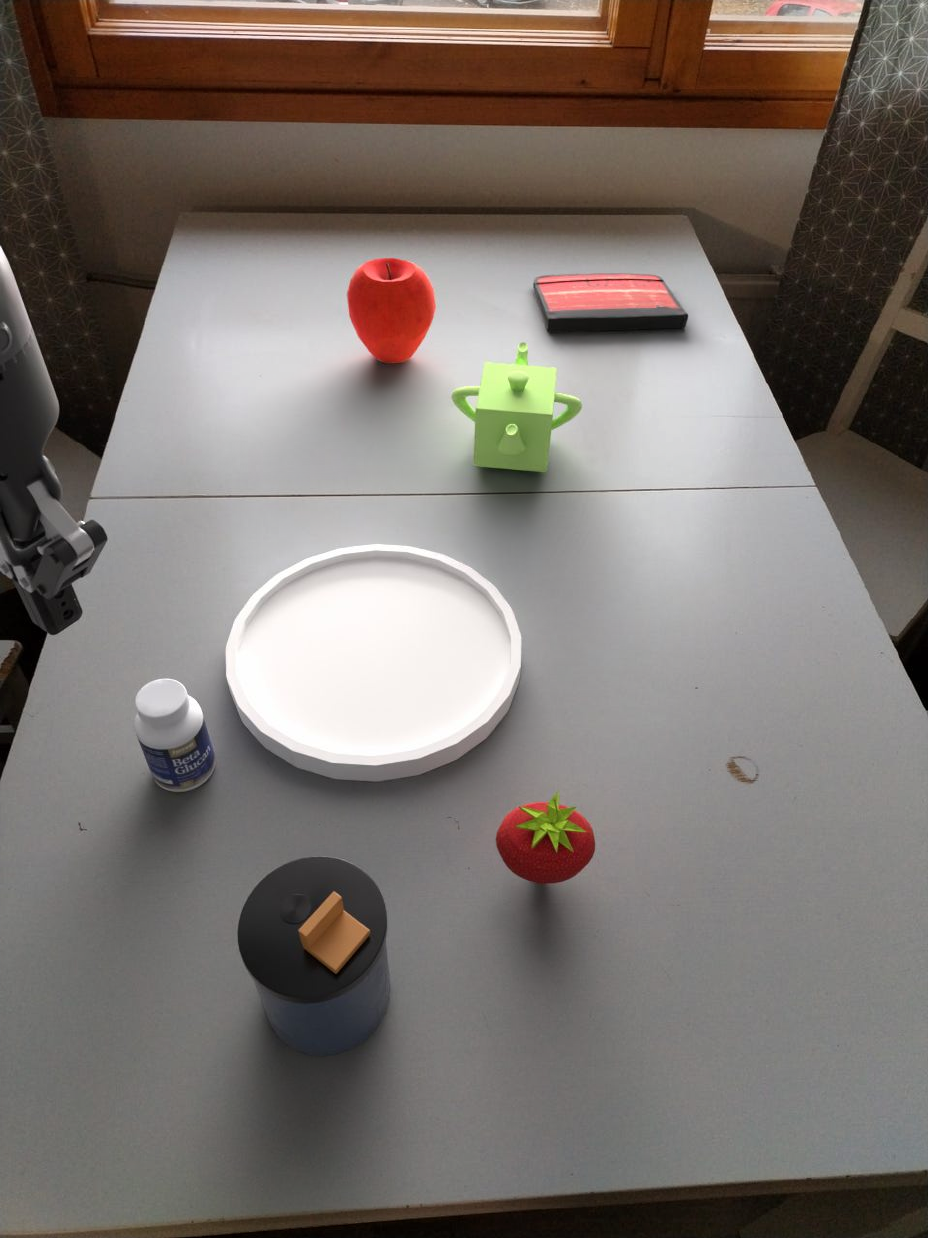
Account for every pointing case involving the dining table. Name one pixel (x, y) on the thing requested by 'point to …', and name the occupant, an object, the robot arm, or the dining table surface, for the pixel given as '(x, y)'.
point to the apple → (391, 307)
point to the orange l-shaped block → (332, 934)
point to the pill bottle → (173, 736)
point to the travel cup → (298, 982)
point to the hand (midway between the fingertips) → (60, 621)
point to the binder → (607, 302)
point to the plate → (374, 662)
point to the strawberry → (545, 841)
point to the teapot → (515, 413)
